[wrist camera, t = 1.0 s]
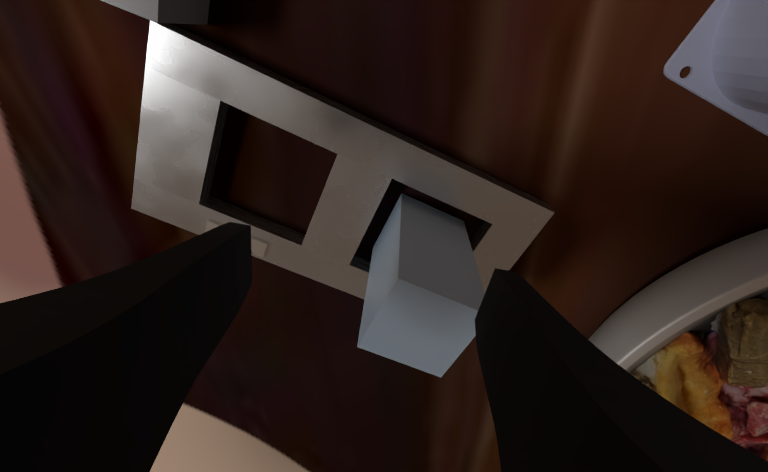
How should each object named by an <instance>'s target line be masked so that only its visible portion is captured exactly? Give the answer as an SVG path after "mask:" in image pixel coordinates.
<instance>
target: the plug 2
mask: <svg viewBox="0 0 768 472" xmlns="http://www.w3.org/2000/svg"><path fill="white" fill-rule="evenodd" d="M484 295H485V292H484V289H483V285H482V282H481V279H480V275H479V272H478V268H477V265H476V261H475V258H474V255H473V251H472V248H471V244H470V241H469V237H468V234H467V230H466V227H465V224H464V221H462V220H460V219H458V218H456V217H454V216H451V215H449V214H447V213H445V212H442V211H440V210H438V209H436V208H433V207H431V206H429V205H427V204H425V203H422V202H420V201H418V200H416V199H413V198H411V197H409V196H407V195H405V194H402V193H401V195H400V197H399V199H398V201H397V203H396V205H395V207H394V209H393V210H392V212H391V214H390V216H389V218H388V220H387V222H386V224H385V226H384V228H383V230H382V231H381V233H380V235H379V237H378V239H377V241H376V243H375V245H374V247H373V251H372V258H371V264H370V270H369V276H368V283H367V289H366V295H365V301H364V308H363V314H362V320H361V326H360V333H359V339H358V345H357V347H359V348H362V349H364V350H367V351H370V352H373V353H375V354H378V355H381V356H384V357H386V358H389V359H392V360H395V361H397V362H400V363H403V364H406V365H408V366H411V367H414V368H417V369H419V370H422V371H425V372H427V373H430V374H433V375H436V376H438V377H442V376H443V374H444V373H445V372H446V371H447V370H448V368H449V367H450V366H451V365H452V364H453V362H454V361H455V360H456V359H457V357H458V356H459V355H460V354H461V353H462V351H463V350H464V349H465V348H466V347H467V345H468V344H469V343H470V342H471V340H472V339H473V338H474V337H475V336H476V332H475V317H476V315H477V312H478V310H479V307H480V305H481V302H482V300H483V297H484Z"/></svg>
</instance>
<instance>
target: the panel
mask: <svg viewBox="0 0 768 472" xmlns="http://www.w3.org/2000/svg"><path fill="white" fill-rule="evenodd" d="M229 105H231V106H233V107H236V108H238V109H240V110H242V111H244V112H247V113H249V114H251V115H253V116H255V117H258V118H260V119H262V120H264V121H266V122H269V123H271V124H273V125H275V126H277V127H280V128H282V129H284V130H286V131H288V132H291V133H293V134H295V135H297V136H299V137H302V138H304V139H306V140H308V141H310V142H313V143H315V144H317V145H319V146H322V147H324V148H326V149H328V150H330V151H333V152H335V153H337V154H338V155H337V157H336V160H335V162H334V165H333V167H332V170H331V172H330V175H329V177H328V180H327V182H326V185H325V187H324V190H323V192H322V195H321V197H320V200H319V203H318V205H317V208H316V210H315V213H314V215H313V218H312V220H311V223H310V225H309V228H308V230H307V233H306V235H304V234H302V233H299V232H297V231H295V230H292V229H290V228H287V227H285V226H282V225H280V224H277V223H275V222H273V221H270V220H268V219H265V218H263V217H260V216H258V215H255V214H253V213H251V212H248V211H246V210H243V209H241V208H238V207H236V206H234V205H231V204H229V203H226V202H224V201H221V200H219V199H216V198H214V197H212V196H209V194H210V190H211V185H212V181H213V176H214V172H215V167H216V163H217V158H218V153H219V149H220V144H221V140H222V135H223V131H224V126H225V122H226V117H227V113H228V108H229ZM392 179H394V180H396V181H399V182H401V183H403V184H405V185H407V186H410V187H412V188H414V189H416V190H418V191H421V192H423V193H425V194H427V195H429V196H432V197H434V198H436V199H438V200H440V201H443V202H445V203H447V204H449V205H451V206H454V207H456V208H458V209H460V210H462V211H465V212H467V213H469V214H471V215H473V216H476V217H478V218H480V219H482V220H484V221H483V223H482V224H481V226H480V227H479V229H478V230H477V232H476V233H475V235H474V236H473V238H472V239H471V240H470V244H471V248H472V251H473V255H474V258H475V261H476V265H477V268H478V272H479V275H480V279H481V282H482V285H483V289H484V292H486V290H487V287H488V284H489V282H490V279H491V277H492V274H493V272H494V269H495V268H497V269H502V270H508V271H509V270H510V269H511V267H512V266H513V265H514V264H515V262H516V261H517V260H518V259H519V257H520V256H521V255H522V253H523V252H524V251H525V250H526V248H527V247H528V246H529V245H530V243H531V242H532V241H533V240H534V238H535V237H536V236H537V234H538V233H539V232H540V231H541V229H542V228H543V227H544V226H545V224H546V223H547V222H548V221H549V219H550V218H551V217H552V215H553V214H554V213H555V212H554V211H553V210H552V209H551V207H550V206H549V205H548V204H547V203H546V202H544V201H542V200H540V199H537V198H535V197H533V196H531V195H529V194H527V193H525V192H523V191H521V190H519V189H517V188H514V187H512V186H510V185H508V184H506V183H504V182H502V181H500V180H498V179H496V178H494V177H492V176H489V175H487V174H485V173H483V172H481V171H479V170H477V169H475V168H473V167H471V166H469V165H466V164H464V163H462V162H460V161H458V160H456V159H454V158H452V157H450V156H448V155H446V154H443V153H441V152H439V151H437V150H435V149H433V148H431V147H429V146H427V145H425V144H423V143H420V142H418V141H416V140H414V139H412V138H410V137H408V136H406V135H404V134H402V133H400V132H397V131H395V130H393V129H391V128H389V127H387V126H385V125H383V124H381V123H379V122H377V121H374V120H372V119H370V118H368V117H366V116H364V115H362V114H360V113H358V112H356V111H354V110H351V109H349V108H347V107H345V106H343V105H341V104H339V103H337V102H335V101H333V100H331V99H329V98H326V97H324V96H322V95H320V94H318V93H316V92H314V91H312V90H310V89H308V88H306V87H303V86H301V85H299V84H297V83H295V82H293V81H291V80H289V79H287V78H285V77H283V76H280V75H278V74H276V73H274V72H272V71H270V70H268V69H266V68H264V67H262V66H260V65H257V64H255V63H253V62H251V61H249V60H247V59H245V58H243V57H241V56H239V55H237V54H234V53H232V52H230V51H228V50H226V49H224V48H222V47H220V46H218V45H216V44H214V43H211V42H209V41H207V40H205V39H203V38H201V37H199V36H197V35H195V34H193V33H191V32H189V31H186V30H184V29H182V28H180V27H178V26H176V25H174V24H172V23H156V22H154V21H151V20H150V27H149V37H148V47H147V57H146V67H145V77H144V87H143V97H142V107H141V117H140V127H139V137H138V147H137V157H136V167H135V177H134V187H133V197H132V207H131V209H134V210H137V211H139V212H142V213H144V214H147V215H149V216H152V217H155V218H157V219H160V220H162V221H165V222H167V223H170V224H172V225H175V226H178V227H180V228H183V229H185V230H188V231H190V232H193V233H196V234H198V235H200V234H202V233H205V232H207V231H209V230H211V229H213V228H216V227H218V226H220V225H223V224H225V223H228V222H234V223H239V224H245V225H251V254H252V256H254V257H257V258H260V259H262V260H265V261H267V262H270V263H272V264H275V265H278V266H280V267H283V268H285V269H288V270H290V271H293V272H295V273H298V274H301V275H303V276H306V277H308V278H311V279H313V280H316V281H319V282H321V283H324V284H326V285H329V286H331V287H334V288H336V289H339V290H342V291H344V292H347V293H349V294H352V295H354V296H357V297H360V298H362V299H365V295H366V289H367V283H368V276H369V270H370V264H371V262H370V261H368V260H365V259H363V258H360V257H358V256H356V255H354V254H355V252H356V250H357V248H358V246H359V244H360V242H361V240H362V238H363V236H364V234H365V232H366V230H367V228H368V226H369V224H370V222H371V220H372V218H373V216H374V214H375V212H376V210H377V208H378V206H379V204H380V202H381V200H382V198H383V196H384V194H385V192H386V190H387V188H388V186H389V184H390V182H391V180H392Z"/></svg>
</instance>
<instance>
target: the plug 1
mask: <svg viewBox="0 0 768 472" xmlns="http://www.w3.org/2000/svg"><path fill="white" fill-rule="evenodd" d="M101 1H104V2H106V3H109V4H111V5H114V6H116V7H119V8H121V9H124V10H126V11H129V12H131V13H134V14H136V15H139V16H141V17H144V18H146V19H149V20H151V21H154V22H156V23H175V24H207V22H208V13H209V3H210V0H101Z"/></svg>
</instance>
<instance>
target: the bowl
mask: <svg viewBox="0 0 768 472" xmlns="http://www.w3.org/2000/svg"><path fill="white" fill-rule="evenodd" d="M588 340H589V341H590V342H591V343H593V344H594V345H595V346H596V347H597V348H598V349H600V350H601V351H602V352H603V353H604V354H606V355H607V356H608V357H609V358H611V359H612V360H613V361H614V362H616V363H617V364H618V365H620V366H621V367H622V368H623V369H625V370H626V371H627V372H629V373H630V374H631V375H633V376H634V377H635V378H637V379H638V380H639V381H641V382H642V383H643V384H645V385H646V386H648V387H649V388H650V389H652V390H653V391H655V392H656V393H658V394H659V395H661V396H662V397H664V398H665V399H666V400H668V401H669V402H671V403H672V404H674V405H675V406H677V407H678V408H680V409H681V410H683V411H684V412H686V413H687V414H689V415H690V416H692V417H694V418H695V419H697V420H698V421H700V422H702V423H703V424H705V425H706V426H708V427H710V428H711V429H713V430H714V431H716V432H718V433H720V434H721V435H723V436H725V437H726V438H728V439H730V440H731V441H733V442H735V443H736V444H738V445H740V446H741V447H743V448H745V449H746V450H748V451H750V452H752V453H753V454H755V455H757V456H759V457H760V458H762V459H764V460H766V461H768V228H767V229H764V230H761V231H758V232H755V233H752V234H750V235H747V236H744V237H742V238H739V239H736V240H734V241H731V242H729V243H727V244H724V245H722V246H720V247H717V248H715V249H713V250H711V251H709V252H707V253H705V254H702V255H700V256H698V257H696V258H694V259H692V260H691V261H689V262H687V263H685V264H683V265H681V266H679V267H678V268H676V269H674V270H672V271H671V272H669V273H667V274H665V275H664V276H662V277H661V278H659V279H658V280H656V281H654V282H653V283H651V284H650V285H648V286H647V287H646V288H644V289H643V290H641V291H640V292H638V293H637V294H636V295H635V296H633V297H632V298H631V299H629V300H628V301H627V302H625V303H624V304H623V305H622V306H621V307H620V308H618V309H617V310H616V311H615V312H614V313H613V314H612V315H611V316H610V317H609V318H607V319H606V320H605V321H604V322H603V323H602V324H601V326H600V327H599V328H598V329H597V330H596V331H595V332H594V333H593V334H592V336H591V337H590V338H589V339H588Z"/></svg>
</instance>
